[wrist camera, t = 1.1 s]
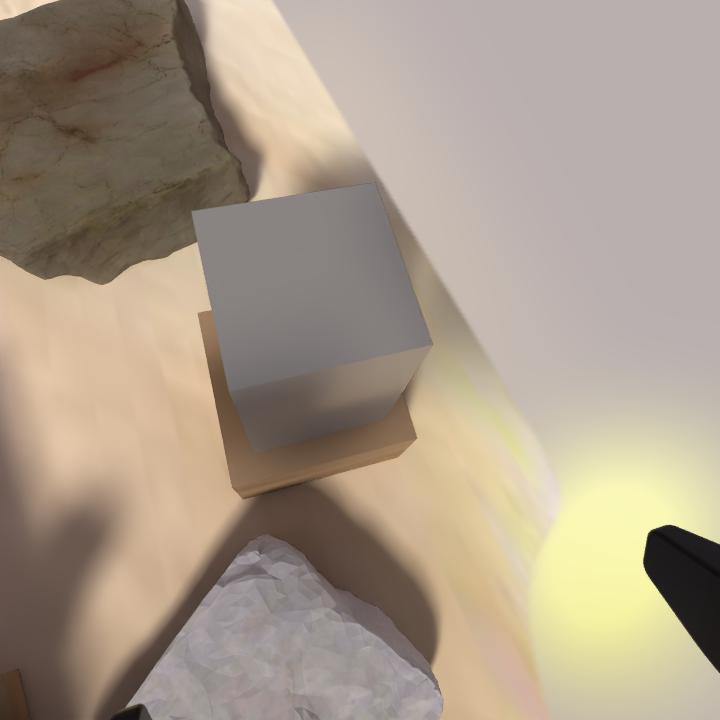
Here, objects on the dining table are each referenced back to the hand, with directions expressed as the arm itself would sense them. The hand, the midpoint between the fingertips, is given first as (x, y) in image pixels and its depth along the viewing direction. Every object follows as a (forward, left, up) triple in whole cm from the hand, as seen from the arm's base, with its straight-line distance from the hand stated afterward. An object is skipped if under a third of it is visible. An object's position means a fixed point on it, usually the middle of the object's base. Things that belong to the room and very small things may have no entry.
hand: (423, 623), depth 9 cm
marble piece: (+25, +3, -14) cm, 29 cm away
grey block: (+8, -1, -9) cm, 12 cm away
